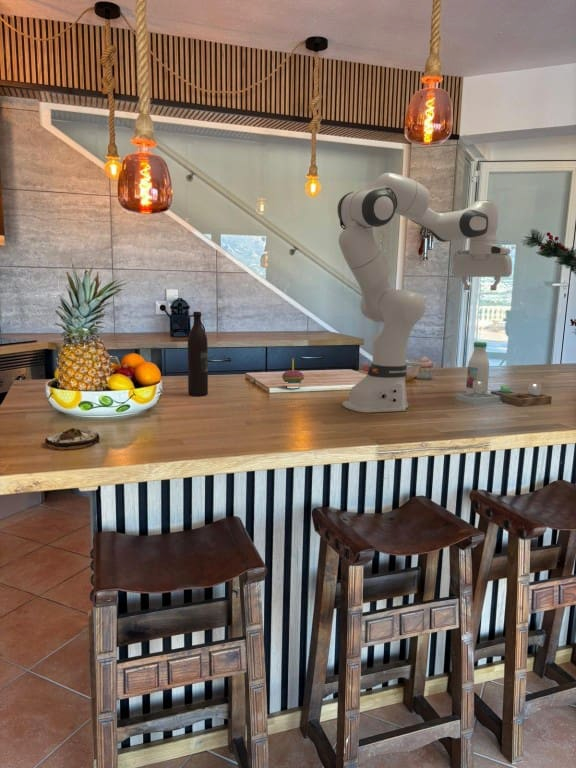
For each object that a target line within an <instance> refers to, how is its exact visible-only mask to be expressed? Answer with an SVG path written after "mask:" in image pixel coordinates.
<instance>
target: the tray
mask: <svg viewBox="0 0 576 768" xmlns="http://www.w3.org/2000/svg"><path fill="white" fill-rule="evenodd" d="M455 401H460V402H462V403H466V404H469V405H470V404H471V405H474V406H475V405H486V404H495V403H500V402H501V400H500V396H496V395H492V394H491V393H488V392H487V393H484V397H483V398H472V393H466V392H465V393H456V394H455Z"/></svg>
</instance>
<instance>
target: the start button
mask: <svg viewBox="0 0 576 768" xmlns="http://www.w3.org/2000/svg"><path fill="white" fill-rule="evenodd" d="M511 388H512V387H511V386H509V385H501V386H500V392H501V393H505V394H507V393H510V391H512V389H511Z"/></svg>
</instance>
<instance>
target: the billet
mask: <svg viewBox="0 0 576 768" xmlns="http://www.w3.org/2000/svg"><path fill="white" fill-rule="evenodd" d="M484 390H485V381H479V380H475V381H473V390H472V398H483V397H484Z"/></svg>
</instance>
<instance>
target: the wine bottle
mask: <svg viewBox="0 0 576 768" xmlns="http://www.w3.org/2000/svg"><path fill="white" fill-rule="evenodd" d="M192 317H193V324H192V327H191V330H190V331H189V333H188V336H187V380H188V381H187V392H188V396H191V397H205V396H207V395H208V394H209V384H208V383H209V378H208V377H209V373H208V372H209V369H208V367H209V366H208V364H209V363H208V361H209V360H208V359H209V358H208V350H209V349H208V338H207V334H206V331H205V330H204V328H203V325H202V312H201V311H193V313H192Z"/></svg>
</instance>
